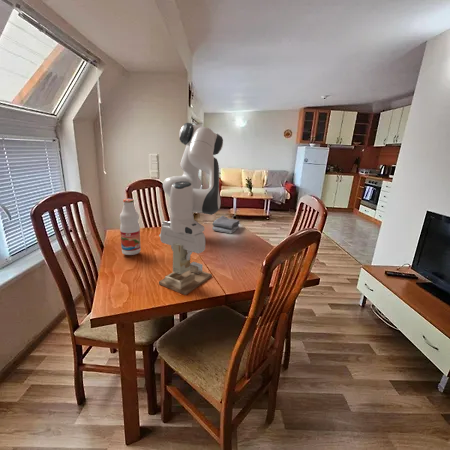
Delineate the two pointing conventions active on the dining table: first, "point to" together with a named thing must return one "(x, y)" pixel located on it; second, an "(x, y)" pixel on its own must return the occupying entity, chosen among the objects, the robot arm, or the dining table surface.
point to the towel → (225, 225)
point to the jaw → (195, 267)
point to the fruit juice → (129, 228)
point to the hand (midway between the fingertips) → (181, 257)
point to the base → (184, 281)
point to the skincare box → (180, 259)
